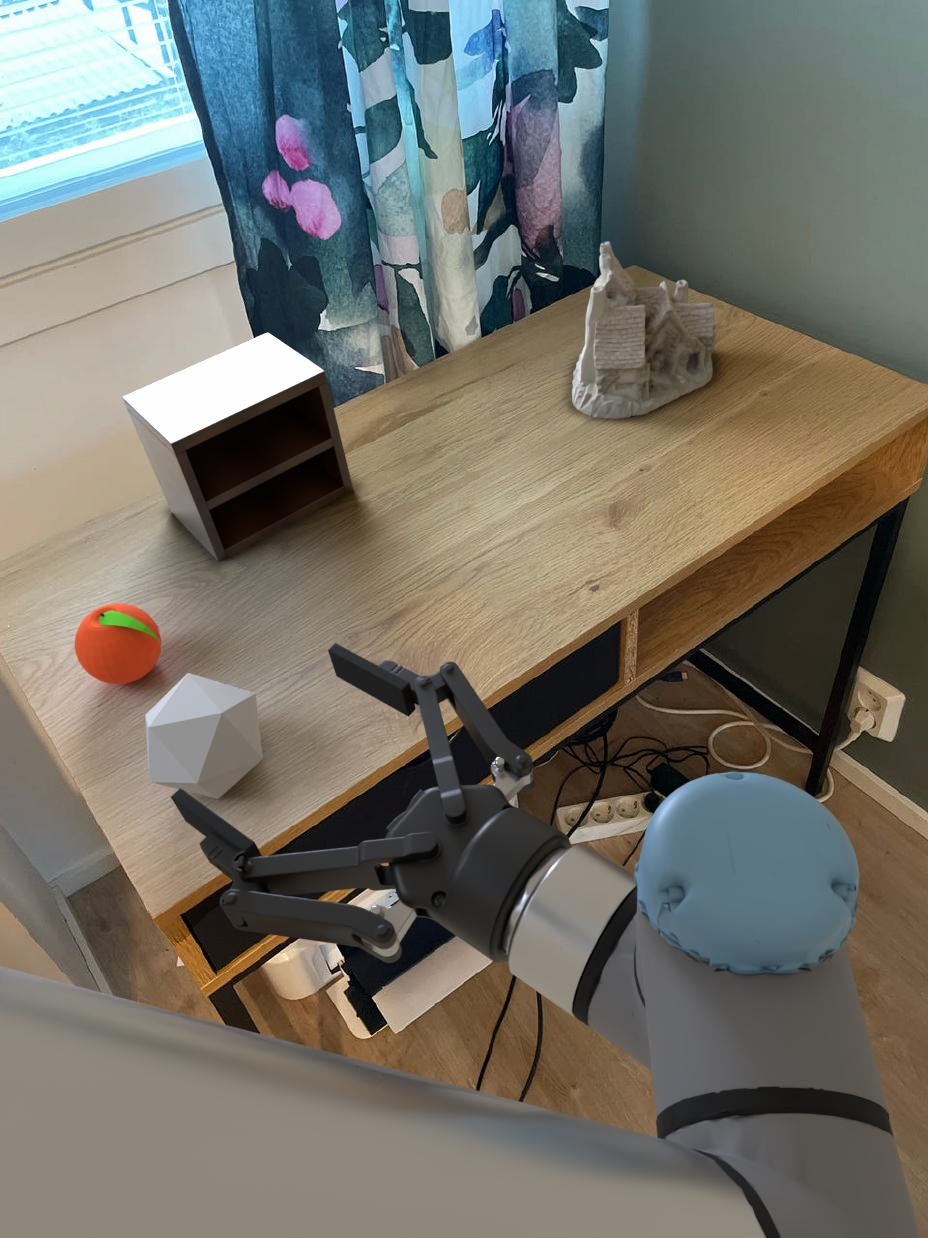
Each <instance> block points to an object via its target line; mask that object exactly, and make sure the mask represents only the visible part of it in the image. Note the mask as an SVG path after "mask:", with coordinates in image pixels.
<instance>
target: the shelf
mask: <svg viewBox="0 0 928 1238" xmlns="http://www.w3.org/2000/svg"><path fill="white" fill-rule="evenodd" d="M121 399H122V401H123V403H124V405H125V408H126V410H127V413H128V415H129V418H130V420H131V421H132V424H133V427H134V428H135V431H136V433H137V435H138V438H139V440H140V443H141V445H142V447H143V449H144V452H145V454H146V456H147V459H148V461H149V463H150V465H151V469H152V470H153V472H154V475H155V477H156V480H157V482H158V484H159V487H160V488H161V491H162V493H163V496H164V498H165V500H166V502H167V505H168V507H169V510H170V512H171V513H172V515H174V517H176V519H177V520H178V521H179V522H180V523H181V524H182V525H183V526H184V527H185V528H186V529H187V531H189V532H190V533H191V534H192V535H193V537H194V538H195V539H196V540H197V541H198V542H199V543H200V544H201V545H202V546H203V547H204V548H205V549H206V550H207V551H208V553H210V555H211V556H212V557H213V558H214V559H215V560H216V561H217V562H222V561H224V560H226V559H227V558H229V557H231V556H233V555H235V554H237V553H238V552H240V551H242V550H244V549H246V548H248V547H250V546H252V545H254V544H255V543H256V542H259V541H261V540H262V539H264V538H266V537H268V536H270V535H272V534H273V533H275V532H277V531H279V530H281V529H283V528H285V527H287V526H288V525H290V524H293V522H296V521H298V520H299V519H302V518H303V517H305V516H307V515H308V514H310V513H313V512H314V511H316V510H318V509H320V508H321V507H324V506H326V505H327V504H329V503H331V502H333V501H334V500H337V499H338V498H341V497H342V496H344V495H346V494H348V493H350V492H352V491H353V490H354V487H353V483H352V478H351V473H350V469H349V466H348V461H347V457H346V453H345V449H344V445H343V440H342V437H341V433H340V428H339V424H338V420H337V417H336V412H335V408H334V404H333V399H332V394H331V392H330V387H329V383H328V379H327V375H326V371H325V370H324V369H323V368H321V367H320V366H319V365H317V364H315V363H314V362H312V361H311V360H310V359H308V358H307V357H305V356H304V355H302V354H300V353H299V352H298V351H296V350H294V349H293V348H291V347H290V346H289V345H287V344H285V342H283V341H281V340H280V339H278V338H277V337H275V336H274V335H272V334H271V333H270V332H266V333H263V334H260V335H259V336H256V337H255V338H252V339H250V340H248V341H246V342H245V341H244V342H243V343H241V344H239V345H237V346H233V347H232V348H229V349H227V350H226V351H222V352H220V353H218V354H216V355H214V356H210V358H207V359H205V360H203V361H200V362H197V363H196V364H194V365H191V366H189V367H187V368H185V369H183V370H180V371H178V372H175V373H173V374H171V375H169V376H166V377H164V378H162V379H159V380H158V381H154V382H153V383H151V384H149V385H146V386H144V387H141V388H139V389H137V390H135V391H133V392H130V393H127V394H126V395H124V396H122V397H121Z"/></svg>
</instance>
